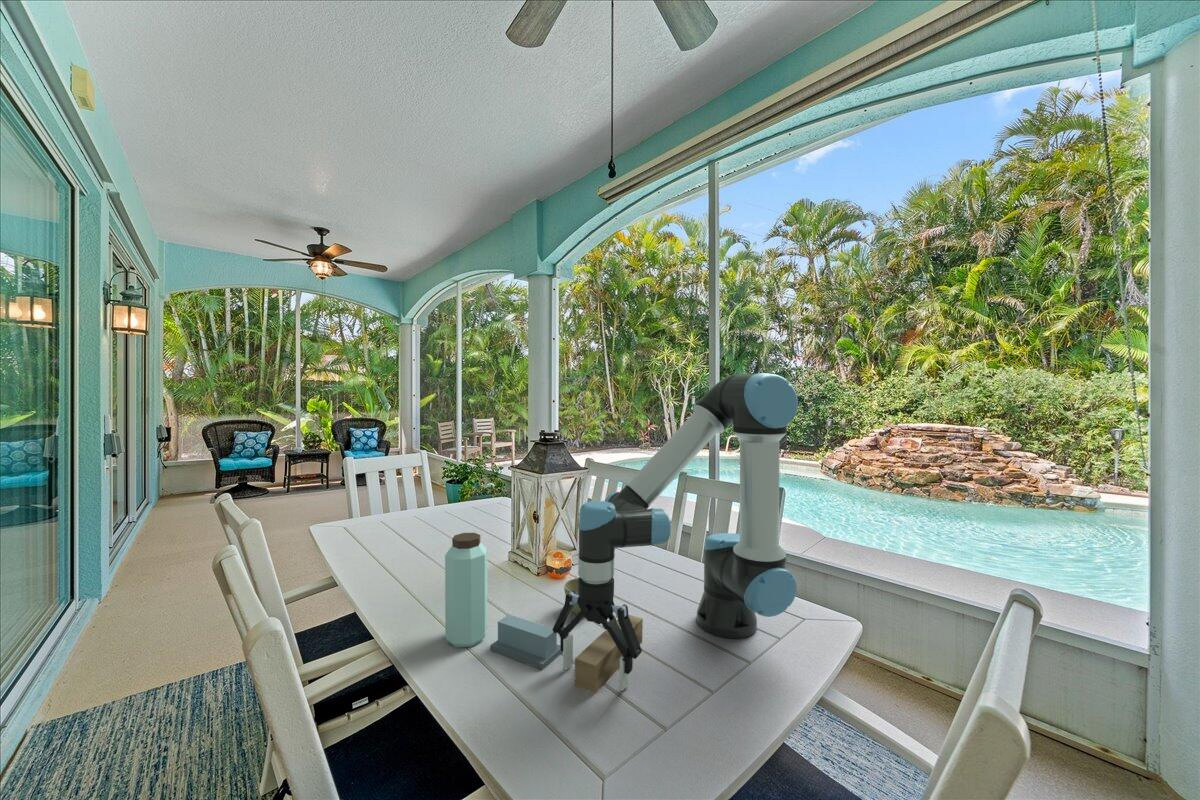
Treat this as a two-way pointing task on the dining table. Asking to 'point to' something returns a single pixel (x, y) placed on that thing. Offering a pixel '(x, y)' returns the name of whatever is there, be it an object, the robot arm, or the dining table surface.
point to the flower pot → (569, 587)
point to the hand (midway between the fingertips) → (595, 676)
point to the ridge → (526, 642)
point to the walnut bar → (601, 659)
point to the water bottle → (466, 591)
